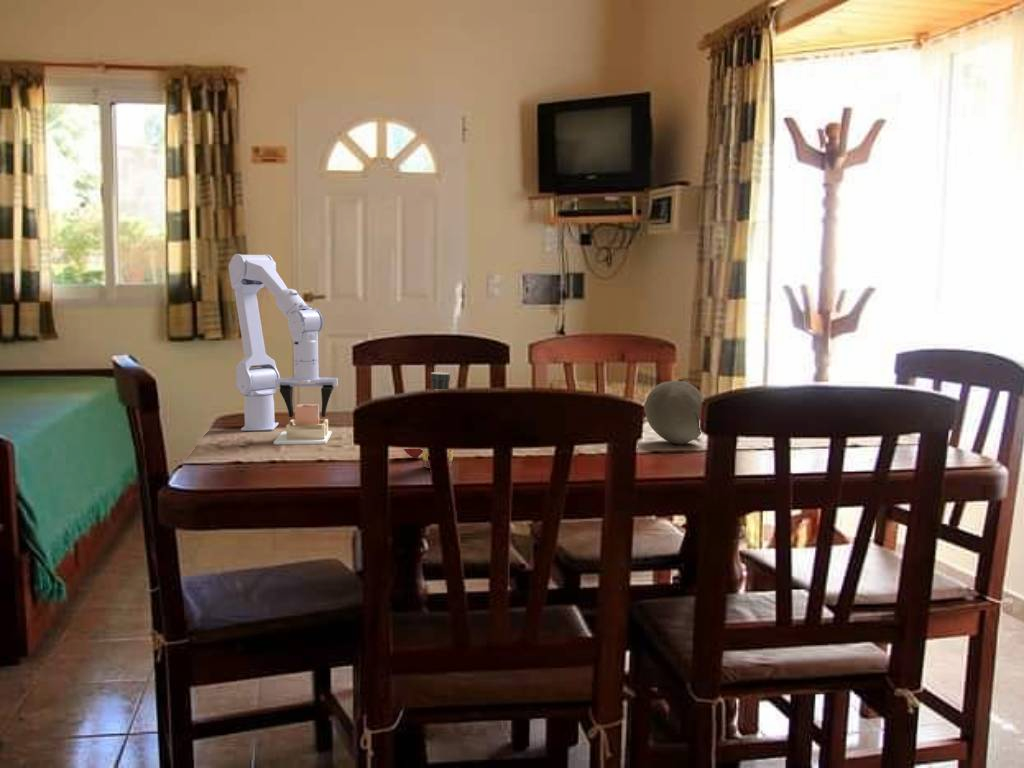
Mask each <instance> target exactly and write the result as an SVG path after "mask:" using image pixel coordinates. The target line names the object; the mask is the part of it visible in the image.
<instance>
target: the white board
mask: <svg viewBox="0 0 1024 768" xmlns="http://www.w3.org/2000/svg"><path fill="white" fill-rule="evenodd" d="M332 434H333V431H332V430H328V434H327V436H326V437H325V439H307V440H287V430H284V431H281V433H280V434H279V435H278V436H277V438H276V439H275V440H274V441H273V445H327V442H328V441H329V439H330V437H331V436H332Z"/></svg>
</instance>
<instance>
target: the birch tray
mask: <svg viewBox="0 0 1024 768" xmlns="http://www.w3.org/2000/svg"><path fill="white" fill-rule="evenodd" d="M285 427H286V430H285V431H287V440H307V439H325V437H326V436H327V434H328V431H329V419H328V418H322V419H321V418H319V425H295V418H293V419H291V420H289V422H288V423H287V424H286V426H285Z"/></svg>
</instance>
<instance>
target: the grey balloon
mask: <svg viewBox="0 0 1024 768" xmlns="http://www.w3.org/2000/svg"><path fill="white" fill-rule="evenodd" d="M703 397H704V396H703V395H702V394H701V392H700V391H699V389H698V388H697V387H695V386H694V385H692V384H691V383H690V382H687V381H683V380H679V381H678V380H674V381H663V382H660V383H659V384H657V385H656V386H654V387H653V389H652V390H651V391H650V392H649V394H648V395H647V398H646V399H645V403H644V410H646V413H645V416H646V417H645V418H646V420H647V423H648V425H649V426H650V428H651V429H652V430H653V431H654V432H655V433H656V434H657V435H658V436H659V437H660V438H662V440H665V441H667V442H668V443H672V444H674V445H686V444H688V443H690V442H692V441H694V440H697V439H698V438H699V437H700V436H701V435H702V433H701V432H700V428H699V419H700V405H701V403H702V402H703V401H704V402H705V400H704V398H703Z"/></svg>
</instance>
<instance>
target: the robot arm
mask: <svg viewBox="0 0 1024 768" xmlns="http://www.w3.org/2000/svg"><path fill="white" fill-rule="evenodd" d="M228 273H229V274H228V275H229V281H230V287H231V288H232V289H233V290H234V291H233V292H234V297H235V303H236V310H237V315H238V316H237V318H238V323H239V329H240V334H241V342H242V348H243V354H244V357H243V358H242V359H241V360H240V362H239V363H237V364H236V367H235V368H236V376H235V384H236V387H237V390H238V391H239V392H240V393H241V395H243V402H244V403H243V404H244V405H243V406H244V407H243V408H244V412H243V413H244V426H242V427H241V428H240V431H244V432H245V431H246V432H247V431H274V430H275V429H276V428H277V426H278V425H279V422H278V421H277V422H275V419H276V418H275V400H274V394H276V393H277V392H276V391H277V390H278V388H279V393H280V394H281V396H282V398H283V400H284V402H285V405H286V408H287V412H288V417H289V418H293V417H294V404H293V399H294V398H293V397H294V396H293V394H294V393H293V392H294V390H293V389H294V387H295V388H296V387H298V388H299V387H321V389H320V390H321V391H320V392H321V418H325V417H326V415H327V407H328V403H329V401H330V398H331V394H332V392H333V390H334V388H337V387H338V386H339V383H338V381H339V379H338V377H320V376H319V374H320V371H319V369H320V368H319V333H320V332H321V331H322V328H323V325H324V320H323V316H322V314H321V312H320V310H319V309H317V308H313V307H309V305H308V304H307V303H306V301H304V299H303V298H302V297H301V296H300V295H299V293H298V291H297V290H296V289H293V288H288V287H287V285H286V284H285V282H284V281H283V279H282V278H281V277H280V275H279V272H277V263H276V262H275V260H274V258H273V257H272V256H271V255H270V254H268V253H267V254H265V253H264V254H240V253H235V254H234V255H233V256H232V257H231V259H230V261H229V264H228ZM264 287H265V288H267V289H268V290H269V291H270V292H271V293H272V294H273V296H274V297H275V306H276V307H278V309H279V310H280V312H281V313H282V314H283V316H284V317H285V318H286V319H287V320H288V321H287V327H288V328H287V329H288V330H289V332H290V338H291V341H292V342H293V368H294V369H293V371H294V372H293V373H294V377H281V376H280V375H281V374H280V372H279V371H278V368H277V364H276V361H275V359H273V358H271V357H270V356H269V355H267V353H266V347H265V340H264V335H263V329H262V321H261V315H260V310H259V302H258V297H257V293H258V292H259V290H261V289H262V288H264Z"/></svg>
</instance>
